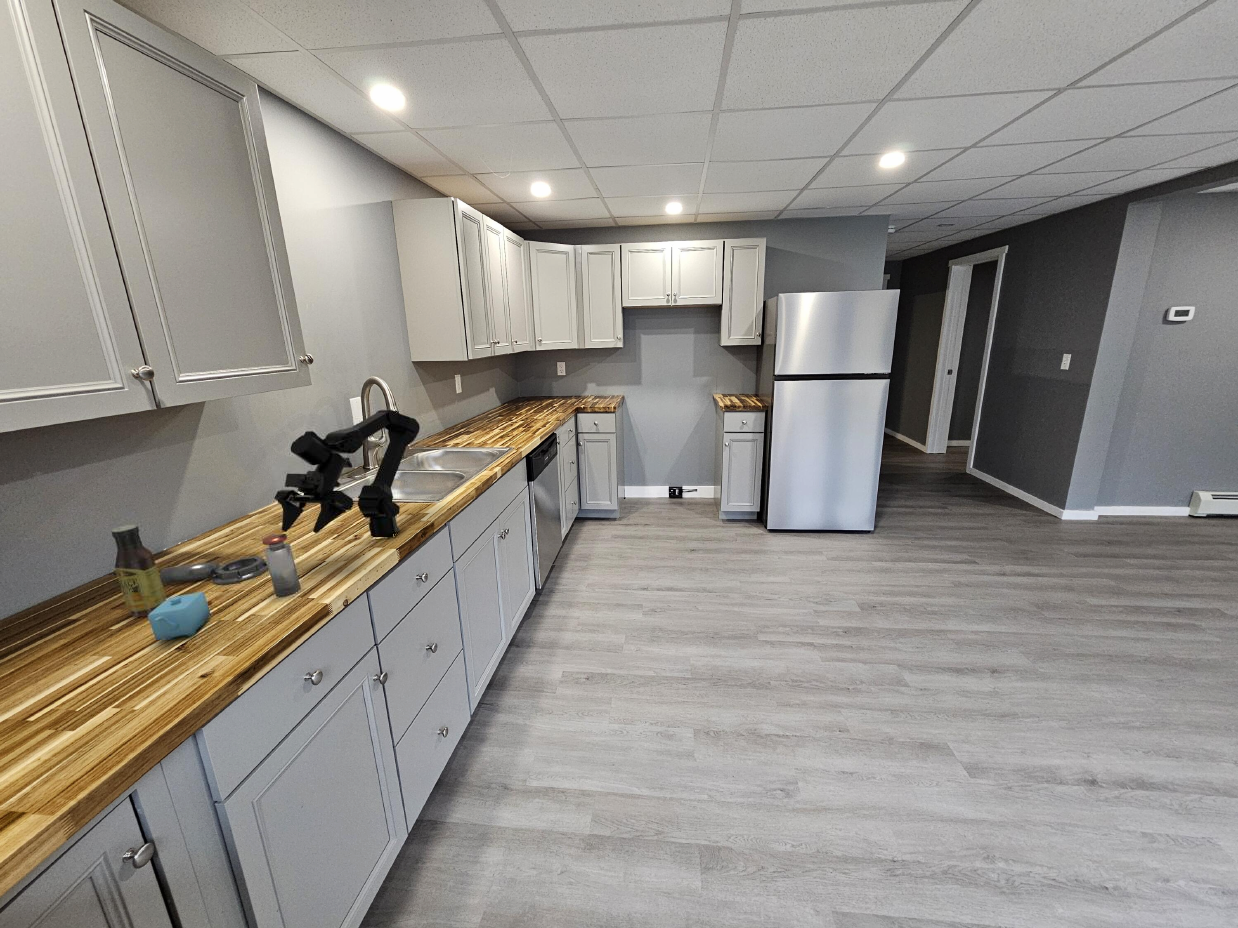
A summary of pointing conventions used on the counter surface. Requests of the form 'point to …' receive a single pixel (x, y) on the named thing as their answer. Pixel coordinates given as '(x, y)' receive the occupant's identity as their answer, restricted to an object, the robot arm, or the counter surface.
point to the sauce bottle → (137, 572)
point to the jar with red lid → (281, 565)
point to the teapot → (179, 616)
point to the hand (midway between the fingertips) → (299, 531)
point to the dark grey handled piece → (216, 571)
